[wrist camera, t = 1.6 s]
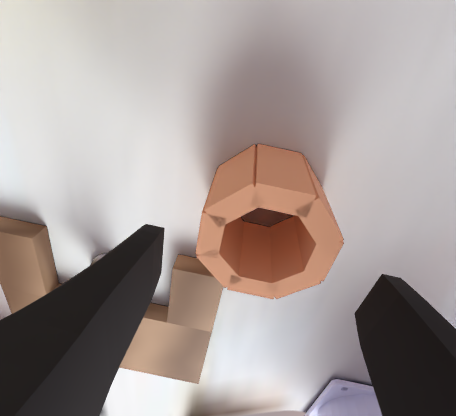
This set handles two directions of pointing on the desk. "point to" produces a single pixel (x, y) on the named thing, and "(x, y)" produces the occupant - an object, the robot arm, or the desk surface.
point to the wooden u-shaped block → (154, 317)
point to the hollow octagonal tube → (262, 235)
